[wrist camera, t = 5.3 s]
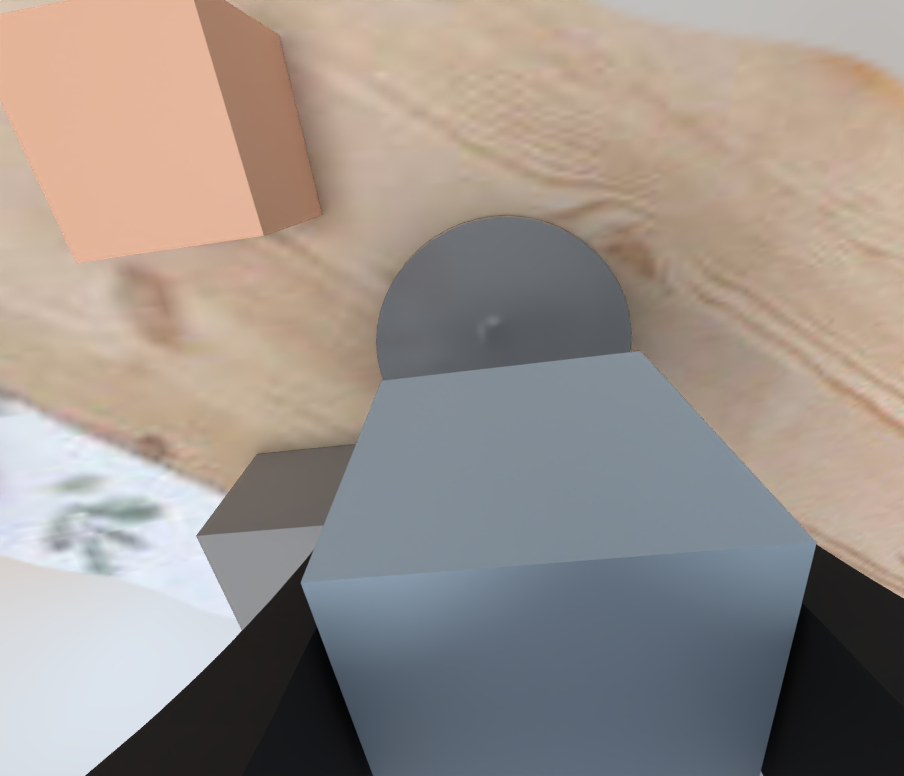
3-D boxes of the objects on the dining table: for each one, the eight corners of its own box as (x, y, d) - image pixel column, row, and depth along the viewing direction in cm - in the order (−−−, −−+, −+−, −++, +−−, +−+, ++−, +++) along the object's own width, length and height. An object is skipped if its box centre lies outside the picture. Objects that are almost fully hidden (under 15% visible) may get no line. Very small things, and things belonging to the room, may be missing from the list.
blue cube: (640, 350, 9) (816, 542, 4) (634, 550, 11) (749, 818, 7) (381, 380, 9) (300, 582, 5) (422, 567, 11) (392, 829, 7)
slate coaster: (676, 290, 16) (685, 295, 16) (543, 477, 20) (545, 489, 19) (443, 164, 15) (442, 165, 14) (346, 390, 19) (340, 399, 18)
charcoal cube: (370, 441, 20) (340, 523, 15) (393, 532, 22) (372, 628, 17) (257, 452, 20) (196, 536, 16) (290, 541, 22) (245, 636, 18)
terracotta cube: (280, 36, 14) (186, -24, 9) (323, 214, 16) (263, 235, 12) (122, 65, 14) (-37, 21, 10) (184, 234, 16) (76, 262, 12)
